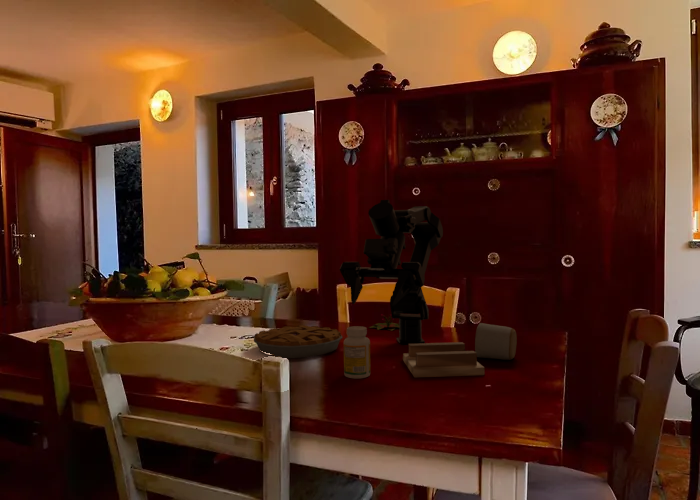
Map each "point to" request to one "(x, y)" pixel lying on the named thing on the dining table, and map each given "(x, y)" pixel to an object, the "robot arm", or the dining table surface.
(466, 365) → the beech cradle
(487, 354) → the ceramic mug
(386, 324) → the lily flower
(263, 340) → the pie
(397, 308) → the robot arm
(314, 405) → the dining table surface
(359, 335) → the supplement bottle
